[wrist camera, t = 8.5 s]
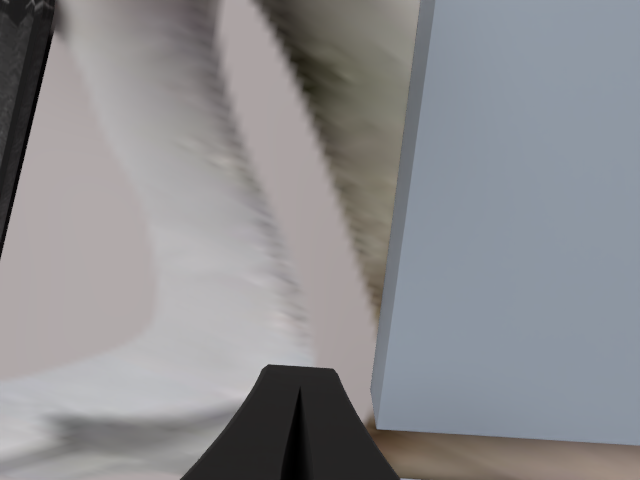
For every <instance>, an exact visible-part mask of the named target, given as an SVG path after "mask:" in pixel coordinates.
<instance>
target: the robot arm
mask: <svg viewBox="0 0 640 480" xmlns="http://www.w3.org/2000/svg"><path fill="white" fill-rule="evenodd" d="M180 480H419V479H402V478H399V477H398V475H397V474H396V473H395V471H394V470H393V469H392V467H391V466H390V464H389V463H388V462H387V460H386V459H385V458H384V456H383V455H382V453H381V452H380V450H379V449H378V447H377V446H376V444H375V443H374V441H373V439H372V438H371V436H370V435H369V433H368V431H367V430H366V428H365V426H364V425H363V423H362V422H361V420H360V418H359V416H358V415H357V413H356V411H355V409H354V408H353V406H352V404H351V402H350V400H349V398H348V396H347V394H346V392H345V390H344V388H343V385H342V383H341V381H340V378H339V376H338V374H337V373H336V372H335V370H334V369H330V368H315V367H300V366H285V365H270V364H268V365H267V366H266V367H264V368H263V369H262V371H261V373H260V375H259V377H258V379H257V381H256V383H255V385H254V387H253V388H252V390H251V392H250V393H249V395H248V396H247V398H246V399H245V401H244V402H243V404H242V405H241V407H240V408H239V410H238V411H237V412H236V414H235V415H234V416H233V418H232V419H231V421H230V422H229V423H228V425H227V426H226V427H225V429H224V430H223V431H222V433H221V434H220V435H219V436H218V437H217V439H216V440H215V441H214V442H213V443H212V445H211V446H210V447H209V448H208V449H207V450H206V452H205V453H204V454H203V455H202V456H201V458H200V459H199V460H198V461H197V462H196V463H195V464H194V465H193V466H192V467H191V469H190V470H189V471H188V472H187V473H186V474H185V475H184V476H183V477H182V478H181V479H180Z"/></svg>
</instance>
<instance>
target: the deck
mask: <svg viewBox="0 0 640 480" xmlns="http://www.w3.org/2000/svg"><path fill="white" fill-rule="evenodd" d="M370 390H371V396H372V403H373V409H374V415H375V421H376V428H377V429H384V430H400V431H416V432H432V433H448V434H464V435H480V436H496V437H512V438H528V439H544V440H560V441H576V442H592V443H608V444H624V445H640V0H421V2H420V10H419V17H418V25H417V33H416V41H415V48H414V56H413V64H412V71H411V79H410V87H409V95H408V102H407V110H406V118H405V126H404V133H403V141H402V149H401V157H400V164H399V172H398V180H397V187H396V195H395V203H394V211H393V218H392V226H391V234H390V242H389V249H388V257H387V265H386V273H385V280H384V288H383V296H382V303H381V311H380V319H379V327H378V334H377V342H376V350H375V358H374V365H373V373H372V382H371V389H370Z"/></svg>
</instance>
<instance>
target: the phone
mask: <svg viewBox="0 0 640 480" xmlns="http://www.w3.org/2000/svg"><path fill="white" fill-rule="evenodd" d="M54 5H55V0H0V259H1V255H2V251H3V247H4V242H5V238H6V233H7V229H8V225H9V221H10V217H11V213H12V208H13V204H14V200H15V196H16V191H17V187H18V183H19V179H20V174H21V170H22V165H23V162H24V157H25V153H26V149H27V145H28V140H29V136H30V132H31V127H32V123H33V119H34V115H35V111H36V106H37V102H38V98H39V93H40V89H41V85H42V81H43V77H44V72H45V68H46V64H47V60H48V55H49V51H50V47H51V43H52V38H53V34H54V32H52V31H51V30H50V27H51V23H52V18H53V14H54Z"/></svg>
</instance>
